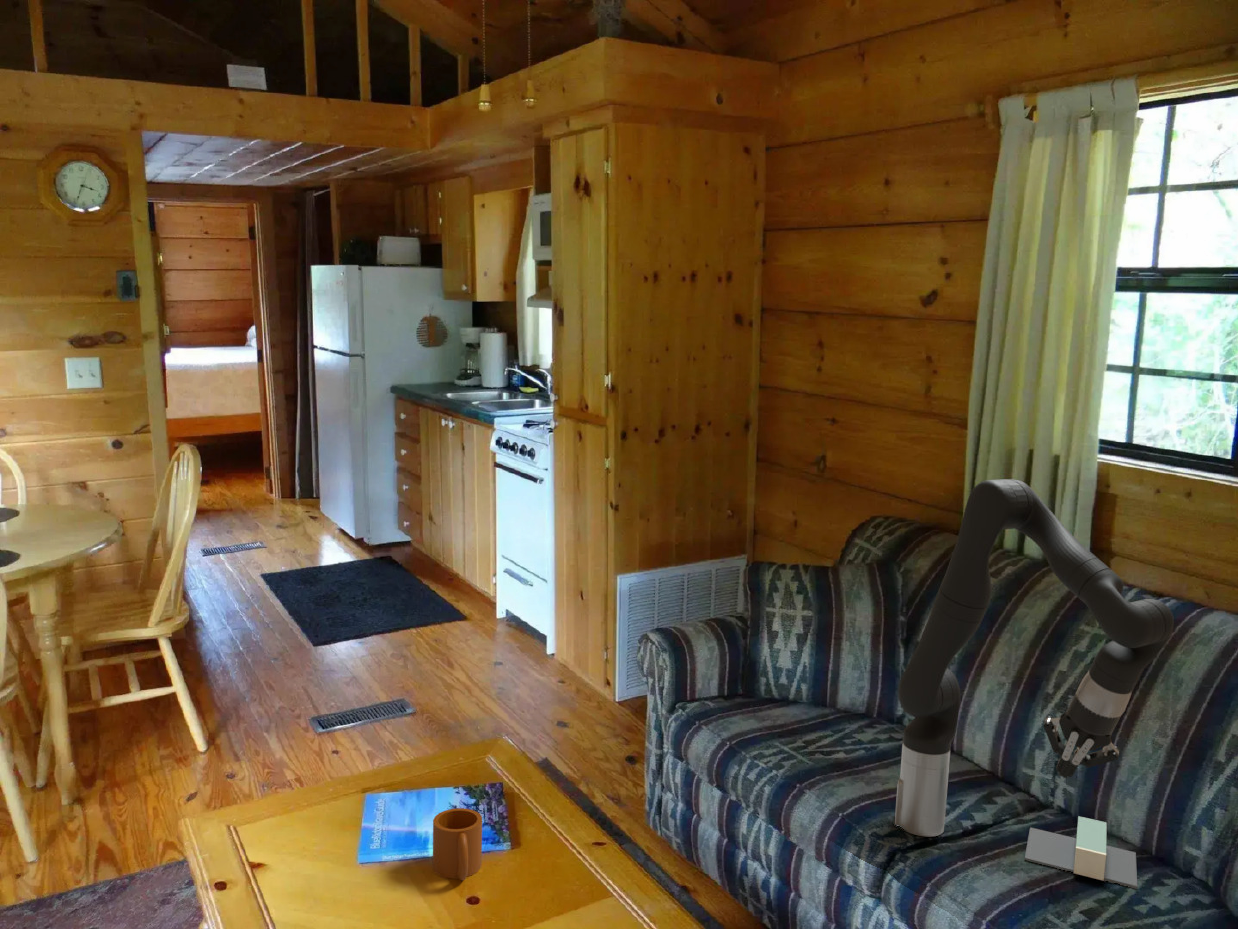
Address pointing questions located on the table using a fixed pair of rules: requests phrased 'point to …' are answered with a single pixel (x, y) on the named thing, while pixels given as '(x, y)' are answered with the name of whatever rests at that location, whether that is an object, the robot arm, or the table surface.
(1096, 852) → the tall block
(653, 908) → the table surface
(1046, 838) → the mat
